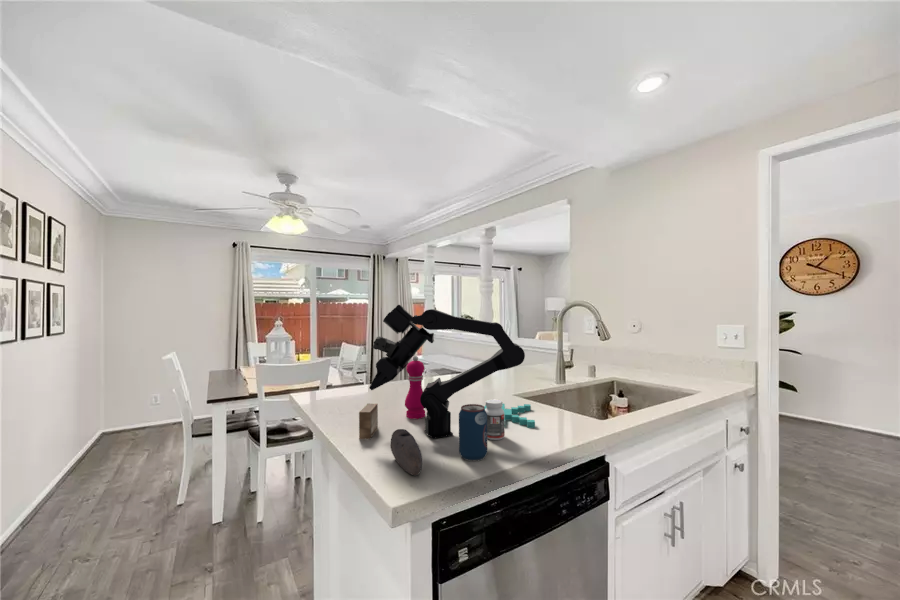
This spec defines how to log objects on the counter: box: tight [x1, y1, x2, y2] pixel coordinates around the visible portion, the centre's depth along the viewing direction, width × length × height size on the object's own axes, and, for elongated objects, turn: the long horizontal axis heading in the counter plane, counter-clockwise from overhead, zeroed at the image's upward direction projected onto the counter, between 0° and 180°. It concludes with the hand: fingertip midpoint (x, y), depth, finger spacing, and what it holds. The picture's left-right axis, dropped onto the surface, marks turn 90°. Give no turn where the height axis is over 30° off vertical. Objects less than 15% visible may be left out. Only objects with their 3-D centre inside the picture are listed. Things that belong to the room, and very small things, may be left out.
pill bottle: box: [485, 398, 506, 441], centre depth 106 cm, size 6×6×10 cm
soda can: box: [458, 403, 488, 462], centre depth 93 cm, size 7×7×12 cm
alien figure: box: [483, 403, 536, 429], centre depth 125 cm, size 20×2×20 cm
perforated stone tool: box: [390, 428, 423, 476], centre depth 87 cm, size 15×5×7 cm, turn 22°
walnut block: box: [358, 403, 379, 440], centre depth 110 cm, size 3×9×8 cm, turn 177°
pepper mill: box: [404, 355, 426, 420], centre depth 126 cm, size 7×7×20 cm
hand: (374, 385), depth 110 cm, fingers open, 9 cm apart
